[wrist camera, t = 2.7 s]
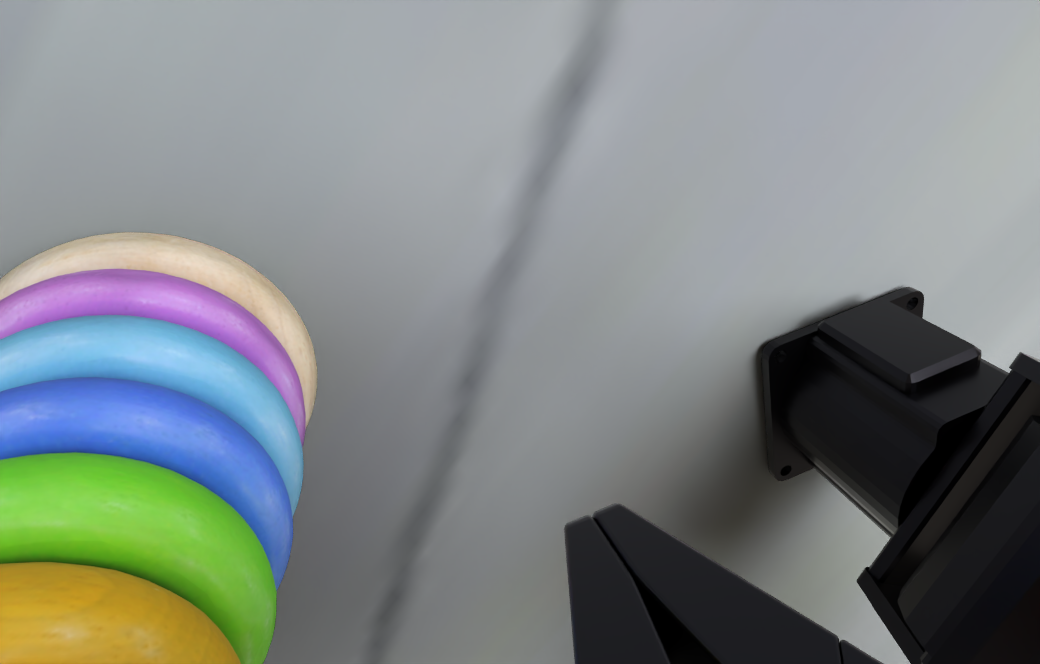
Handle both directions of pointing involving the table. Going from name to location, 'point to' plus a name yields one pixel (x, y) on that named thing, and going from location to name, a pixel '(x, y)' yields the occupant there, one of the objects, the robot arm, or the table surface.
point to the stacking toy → (146, 453)
